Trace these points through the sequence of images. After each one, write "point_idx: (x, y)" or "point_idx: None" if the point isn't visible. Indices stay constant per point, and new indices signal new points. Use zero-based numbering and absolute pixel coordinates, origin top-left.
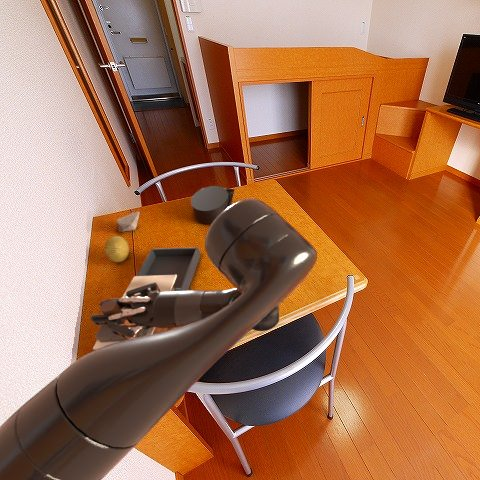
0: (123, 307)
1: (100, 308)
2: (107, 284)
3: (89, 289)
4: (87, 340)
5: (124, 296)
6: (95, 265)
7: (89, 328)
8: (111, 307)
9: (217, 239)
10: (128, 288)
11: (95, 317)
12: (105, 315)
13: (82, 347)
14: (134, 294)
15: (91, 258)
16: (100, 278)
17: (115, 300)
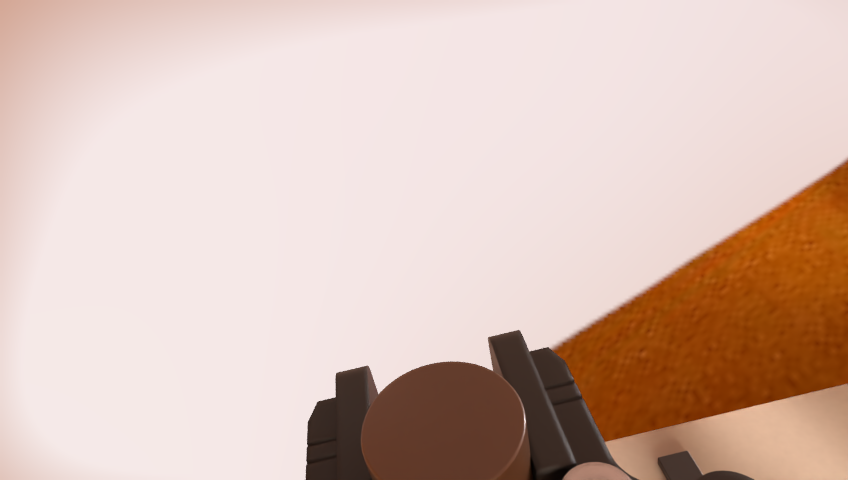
0: (672, 476)
1: (399, 380)
2: (781, 290)
3: (712, 257)
4: None
5: (755, 418)
6: (824, 197)
7: None
8: (422, 473)
9: None
10: (826, 397)
11: (337, 405)
12: (358, 473)
13: None
14: (816, 471)
15: (839, 169)
16: (786, 250)
17: (562, 434)
